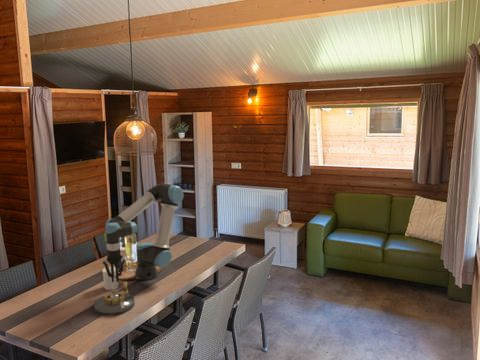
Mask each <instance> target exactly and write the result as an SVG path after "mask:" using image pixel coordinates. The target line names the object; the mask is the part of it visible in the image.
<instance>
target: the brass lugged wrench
mask: <svg viewBox="0 0 480 360" xmlns="http://www.w3.org/2000/svg"><path fill="white" fill-rule="evenodd" d="M115 290H116V289H113V290H111V292H108V293H107V294H103V296H104V302H105V304H106V305H110V306H111V305H112V306H113V305H118V304H119V302H122V301H123V302H124V301H125V295H126V294H129V290H128V281H123V282H122V291H115ZM112 293H118V294H119V297H118V298H116V296H115V297H114V299H110V294H112Z"/></svg>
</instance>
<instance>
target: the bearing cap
mask: <svg viewBox="0 0 480 360" xmlns="http://www.w3.org/2000/svg"><path fill="white" fill-rule="evenodd" d="M115 296H116V298H118V297H119V294H118V293H112V294H110V299H114V297H115ZM134 306H135V297H134V296H133V295H132V294H129V293H128V294H126V295H125V301H124V302H123V301H122V302H119V304H118V305H113V306H112V305H111V306H110V305H106V304H105V302H104V295H103V296H100V297H99V298H97V299H96V300H95V302H94V306H93V307H94V312H95V313H97V314H98V315H101V316H118V315H122V314H125V313H127V312H129V311H131V310H132V309H133V308H134Z"/></svg>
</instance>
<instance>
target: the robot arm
mask: <svg viewBox="0 0 480 360" xmlns="http://www.w3.org/2000/svg"><path fill="white" fill-rule="evenodd" d="M183 199H184V191H183V189H182V188H181V187H180V186H179V185H176V184H175V185H174V184H169V183H164V182H162V183H158V184H156V185H154V186H152V187H151V188H149V189H148V190H146V191H144V195H143V196H141V197H140V198H139V199H137V200H136V201H135V202H133V203H132V204H131V205H130V206H129V207H127V208H125V209H124V210H123V211H122V212H121V213H120V214H118V215H116V216H115V217H114V218H108V219H107V220H106V222H104V223H105V225H104V226H105V238H106V259H105V260H103V261H102V264H103V265H104V268H106V271H107V274H108V276H109V277H112V282H114V288H116V289H117V288H118V287H117V282H118V283H119V281H120V279H119V277H120V276H122V273H123V268H124V264H125V263H126V258H122V255H121V238H124V237H128V236H132V235H135V234H136V233H137V232H138V225H137V224H136V222H134V221H132V220H134V219H135V218H136V217H137V216H139V214H141V213H142V212H143V211H144V210H145V209H147V208H148V207H150V206H151V205H152V204H156V202H159V201H160V205H161V211H160V215H159V220H158V221H159V222H158V226H157V231H156V237H155V241H154V242H153V241H145V242H144V241H143V242H141V243H140V242H139V244H137V245H136V251H135V252H136V264H137V266H136V270H135V272H134V275H135V276H136V277H138V278H140V279H138V280H139V281H140V280H141V281H148V280H152V279H153V280H154V279H155V278H157V277H158V275H159V273H158V269H157V268H165V267H167V266H168V265H169V264H171V262H172V259H173V258H172V257H173V254H172V252H171V251H170V248H171V247H170V245H169V242H170V237H171V232H172V226H173V223H174V217H175V212H176V211H175V210H176V209H177V208H178V207H179V204H181V203H182V201H183ZM119 263H121V264H120V268H119ZM109 265H110V266H109ZM109 267H111V273H110V270H109ZM114 267H116V276H114ZM119 269H120V270H119ZM135 276H134V277H135Z"/></svg>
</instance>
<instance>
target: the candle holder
mask: <svg viewBox="0 0 480 360" xmlns="http://www.w3.org/2000/svg"><path fill="white" fill-rule="evenodd" d="M108 267H109V270H110V273H111V266H108ZM101 271H102V279H103V286H104V289H105V290H108V291H112V290H116V289H117V288H119V281H118V282H117V288H114V282H112V277H109V276H108V274H107V271H106V268H105V267H104V268H103V269H102V270H101ZM114 276H116V267H115V266H114Z"/></svg>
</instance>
